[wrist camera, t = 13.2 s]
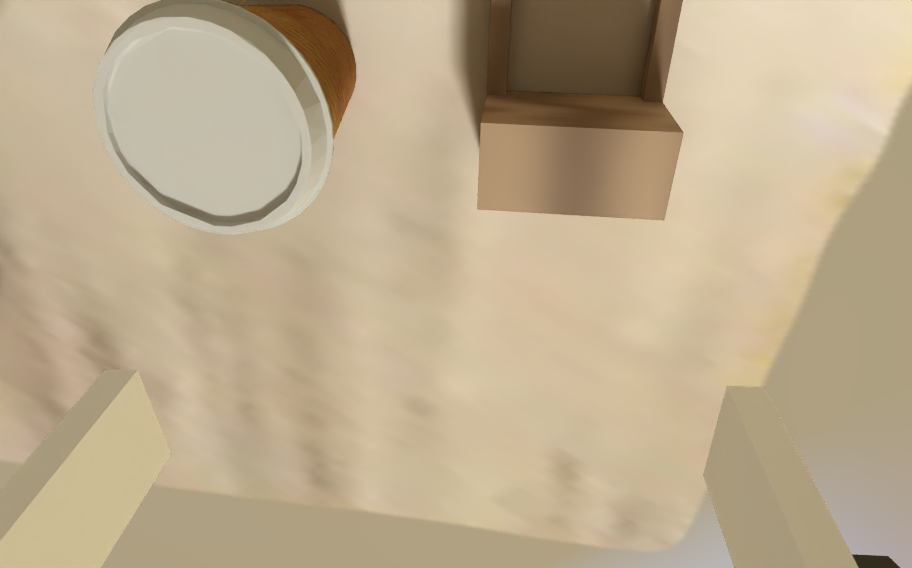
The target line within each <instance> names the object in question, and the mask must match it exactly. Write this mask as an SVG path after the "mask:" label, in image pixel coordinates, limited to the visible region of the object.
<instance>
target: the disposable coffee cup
mask: <svg viewBox="0 0 912 568" xmlns="http://www.w3.org/2000/svg"><path fill="white" fill-rule="evenodd" d="M355 82H356V64H355V59H354V55H353V52H352V49H351V47H350V45H349V42H348V41H347V39H346V38H345V36H344V35H343V33H342V32H341V30H340V29H339V28H338V27H337V26H336V25H335V23H334V22H332V21H331V20H330V19H328V18H327V17H326V16H324V15H323V14H322V13H320V12H318V11H315V10H313V9H311V8H308V7H305V6H301V5H253V6H236V5H233V4H230V3H227V2H224V1H221V0H161V1H158V2H155V3H152V4H149V5H146V6H145V7H143V8H142V9H140V10H139V11H137V12H136V13H134V14H133V15H131V16H130V17H129V18H128V19H127V20H126V21H125V22H124V23H123V24H122V25H121V26H120V27H119V29H118V30H117V31H116V32H115V33H114V36H113V38H112V40H111V42H110V44H109V46H108V48H107V50H106V52H105V54H104V57H103V58H102V60H101V61H100V64H99V68H98V72H97V76H96V80H95V84H94V88H93V96H94V109H95V122H96V124H97V127H98V130H99V133H100V136H101V138H102V141H103V144H104V147H105V149H106V152H107V154H108V156H109V157H110V159H111V160H112V162H113V163H114V165H115V167H116V168H117V170H118V171H119V173H120V174H121V176H122V177H123V178H124V179H125V180H126V182H127V183H128V184H129V185H130V186H131V187H132V188H133V190H134V191H135V192H136V193H137V194H139V195H140V196H141V197H142V198H144V199H145V200H146V201H147V202H149V203H150V204H151V205H152V206H154V207H155V208H156V209H158V210H159V211H160V212H162V213H163V214H164V215H166V216H168V217H170V218H172V219H174V220H176V221H178V222H180V223H182V224H184V225H186V226H189V227H192V228H195V229H199V230H202V231H205V232H211V233H218V234H241V233H247V232H253V231H258V230H265V229H268V228H272V227H275V226H278V225H281V224H283V223H285V222H287V221H289V220H290V219H292V218H294V217H296V216H297V215H299V214H300V213H301V212H302V211H303V210H304V209H305V208H306V207H307V206H308V205H309V204H310V203H311V202H312V201H313V200H314V199H315V198H316V196H317V195H318V193H319V192H320V190H321V188H322V186H323V185H324V183H325V181H326V178H327V176H328V174H329V169H330V165H331V160H332V155H333V150H334V145H333V139H334V136H335V134H336V132H337V129H338V127H339V124H340V122H341V120H342V117H343V114H344V112H345V110H346V107H347V105H348V102H349V100H350V98H351V96H352V93H353V90H354V87H355Z"/></svg>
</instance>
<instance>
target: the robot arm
mask: <svg viewBox="0 0 912 568" xmlns="http://www.w3.org/2000/svg"><path fill="white" fill-rule="evenodd" d="M170 455H171V453H170V450H169V448H168V445H167V443H166V440H165V438H164V435H163V433H162V430H161V428H160V425H159V423H158V420H157V418H156V415H155V413H154V410H153V408H152V405H151V403H150V400H149V398H148V395H147V393H146V390H145V388H144V385H143V383H142V380H141V377H140V375H139V372H138V370H110V369H106V370H105V371H104V372H103V373H102V375H101V376H100V377H99V378H98V379H97V380H96V381H95V383H94V384H93V385H92V386H91V387H90V388H89V390H88V391H87V392H86V393H85V394H84V395H83V396H82V398H81V399H80V400H79V401H78V402H77V403H76V404H75V406H74V407H73V408H72V409H71V410H70V411H69V412H68V414H67V415H66V416H65V417H64V418H63V419H62V420H61V422H60V423H59V424H58V425H57V426H56V427H55V428H54V430H53V431H52V432H51V433H50V434H49V435H48V436H47V438H46V439H45V440H44V441H43V442H42V443H41V444H40V446H39V447H38V448H37V449H36V450H35V451H34V452H33V454H32V455H31V456H30V457H29V458H28V459H27V460H26V462H25V463H24V464H23V465H22V466H21V467H20V468H19V470H18V471H17V472H16V473H15V474H14V475H13V476H12V478H11V479H10V480H9V481H8V482H7V484H5V486H4V487H3V488H2V489H1V490H0V568H101V566H102V565H103V563H104V561H105V560H106V558H107V557H108V555H109V553H110V552H111V550H112V549H113V547H114V545H115V544H116V542H117V541H118V539H119V537H120V536H121V534H122V532H123V531H124V529H125V528H126V526H127V525H128V523H129V521H130V520H131V518H132V516H133V515H134V513H135V512H136V510H137V508H138V507H139V505H140V504H141V502H142V500H143V499H144V497H145V495H146V494H147V492H148V491H149V489H150V487H151V486H152V484H153V483H154V481H155V479H156V478H157V476H158V475H159V473H160V471H161V470H162V468H163V467H164V465H165V463H166V462H167V460H168V458H169V457H170ZM703 476H704V479H705V482H706V485H707V488H708V491H709V494H710V496H711V500H712V502H713V505H714V509H715V512H716V515H717V518H718V521H719V524H720V526H721V529H722V532H723V535H724V538H725V541H726V544H727V547H728V550H729V553H730V556H731V559H732V562H733V565H734V568H900V567H899V566H898V565H897V564H896V563H895V562H894V561H893V560H892V559H890V558H889V557H888V556H872V555H852V554H851V552H850V550H849V548H848V546H847V544H846V542H845V541H844V539H843V537H842V535H841V533H840V531H839V529H838V527H837V525H836V523H835V522H834V519H833V518H832V516H831V514H830V512H829V510H828V508H827V506H826V504H825V502H824V500H823V498H822V496H821V495H820V493H819V491H818V489H817V487H816V485H815V483H814V481H813V479H812V478H811V475H810V473H809V472H808V470H807V468H806V466H805V464H804V462H803V460H802V458H801V456H800V454H799V452H798V451H797V449H796V447H795V445H794V443H793V441H792V439H791V437H790V435H789V433H788V432H787V429H786V428H785V426H784V424H783V422H782V420H781V418H780V416H779V414H778V412H777V410H776V408H775V406H774V405H773V403H772V401H771V399H770V397H769V395H768V393H767V391H766V389H765V387H741V386H727V388H726V391H725V395H724V399H723V403H722V406H721V410H720V414H719V418H718V421H717V425H716V429H715V433H714V436H713V440H712V444H711V448H710V451H709V455H708V459H707V463H706V466H705V470H704V474H703Z"/></svg>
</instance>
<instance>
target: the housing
mask: <svg viewBox="0 0 912 568" xmlns="http://www.w3.org/2000/svg"><path fill="white" fill-rule="evenodd" d="M511 1H512V0H491V11H490V33H489V55H488V78H487V96H486V100H485V105H484V110H483V115H482V119H481V129H480V154H479V178H478V203H477V209H479V210H496V211H513V212H530V213H547V214H564V215H581V216H598V217H615V218H632V219H649V220H664V218H665V214H666V209H667V205H668V200H669V196H670V191H671V187H672V182H673V178H674V173H675V169H676V164H677V160H678V155H679V151H680V146H681V142H682V137H683V131H682V130H681V128H680V127H679V125H678V124H677V123H676V121H675V120H674V118H673V117H672V115H671V114H670V112H669V111H668V110H667V108H666V107H665V105H664V104H663V98H664V93H665V88H666V83H667V78H668V73H669V68H670V63H671V57H672V52H673V47H674V42H675V37H676V32H677V27H678V22H679V17H680V12H681V7H682V2H683V0H657V4H656V10H655V15H654V21H653V27H652V32H651V38H650V44H649V49H648V55H647V61H646V66H645V72H644V77H643V83H642V89H641V94H640V96H617V95H595V94H572V93H549V92H527V91H506V83H507V67H508V51H509V34H510V18H511Z"/></svg>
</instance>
